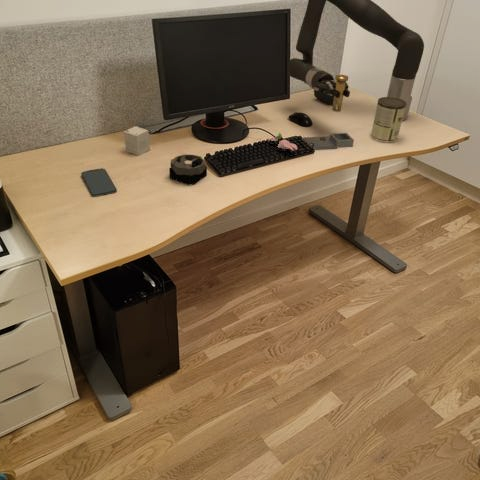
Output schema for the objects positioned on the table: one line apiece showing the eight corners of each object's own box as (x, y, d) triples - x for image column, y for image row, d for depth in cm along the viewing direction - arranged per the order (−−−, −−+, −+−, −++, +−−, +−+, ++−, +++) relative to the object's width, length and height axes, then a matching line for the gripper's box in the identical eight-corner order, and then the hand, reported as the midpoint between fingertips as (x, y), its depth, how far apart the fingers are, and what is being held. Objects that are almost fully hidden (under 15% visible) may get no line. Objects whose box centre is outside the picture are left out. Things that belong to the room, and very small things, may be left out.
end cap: (312, 100, 211) (314, 85, 207) (323, 97, 214) (326, 82, 210) (328, 106, 204) (330, 91, 200) (339, 104, 208) (342, 89, 204)
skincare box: (150, 150, 161) (149, 130, 156) (138, 156, 157) (136, 135, 152) (137, 145, 163) (136, 125, 159) (125, 151, 159) (123, 131, 155)
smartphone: (91, 195, 133) (80, 171, 143) (92, 200, 134) (80, 176, 144) (117, 190, 136) (104, 167, 146) (118, 195, 137) (105, 171, 147)
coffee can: (373, 130, 184) (380, 95, 176) (399, 135, 180) (408, 99, 172) (367, 139, 176) (375, 103, 168) (395, 145, 173) (404, 108, 165)
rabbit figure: (262, 147, 170) (288, 156, 158) (262, 131, 167) (288, 139, 156) (276, 144, 173) (302, 153, 161) (276, 128, 170) (302, 136, 159)
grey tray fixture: (344, 137, 176) (345, 131, 175) (354, 147, 169) (355, 141, 168) (298, 140, 173) (298, 133, 171) (305, 150, 166) (306, 143, 164)
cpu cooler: (210, 158, 145) (192, 171, 137) (210, 175, 148) (192, 188, 141) (183, 150, 149) (164, 162, 141) (184, 166, 152) (165, 179, 145)
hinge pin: (339, 107, 170) (345, 74, 163) (344, 112, 167) (350, 78, 160) (328, 108, 169) (333, 74, 162) (333, 112, 166) (338, 78, 159)
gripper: (304, 71, 170) (328, 85, 158) (337, 68, 175) (363, 82, 162) (301, 91, 175) (325, 107, 162) (333, 88, 179) (359, 103, 166)
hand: (343, 94), depth 162 cm, fingers closed on hinge pin, 3 cm apart
